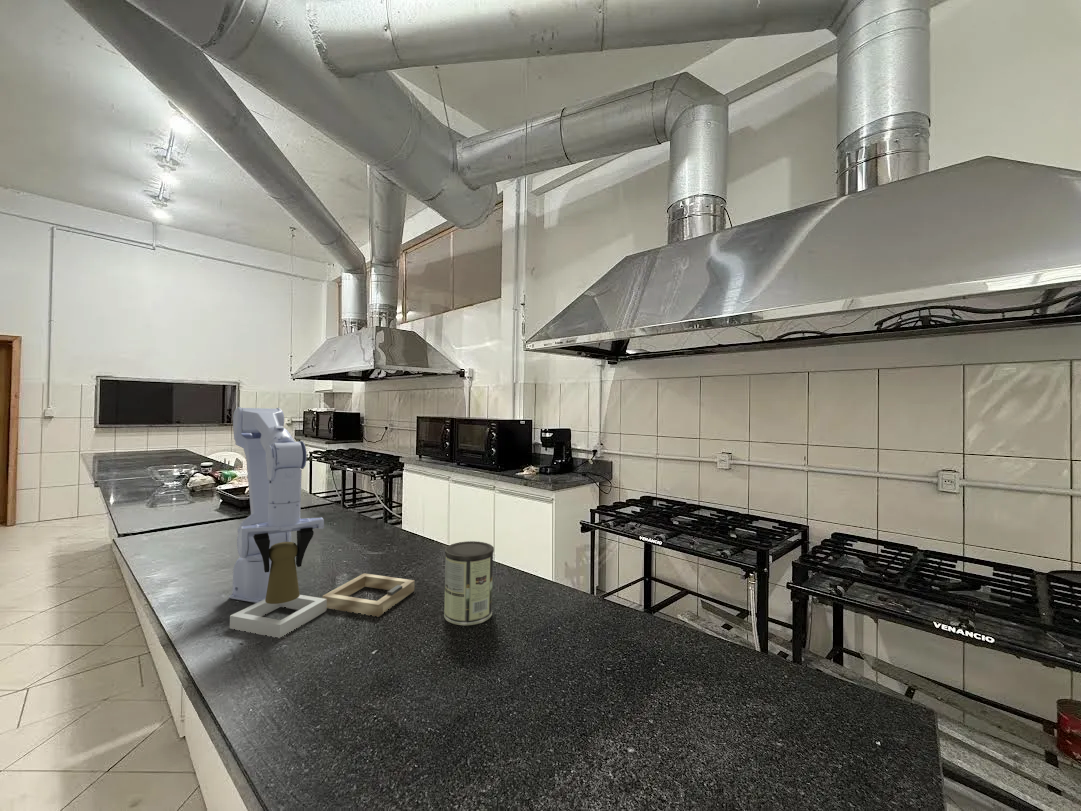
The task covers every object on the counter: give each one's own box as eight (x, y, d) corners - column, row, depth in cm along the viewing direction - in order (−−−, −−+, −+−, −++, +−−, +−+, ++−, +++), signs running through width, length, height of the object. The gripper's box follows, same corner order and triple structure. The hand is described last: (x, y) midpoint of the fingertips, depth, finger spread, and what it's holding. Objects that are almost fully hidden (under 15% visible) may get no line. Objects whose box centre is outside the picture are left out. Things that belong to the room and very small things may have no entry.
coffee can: (461, 600, 102) (463, 538, 102) (500, 609, 97) (502, 545, 98) (432, 618, 92) (434, 550, 93) (474, 630, 88) (476, 559, 88)
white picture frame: (229, 628, 86) (230, 615, 86) (280, 602, 98) (280, 591, 98) (279, 638, 83) (280, 624, 83) (326, 610, 95) (326, 598, 95)
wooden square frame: (322, 607, 96) (322, 593, 96) (363, 583, 110) (364, 570, 110) (378, 616, 93) (378, 602, 93) (414, 590, 106) (414, 577, 106)
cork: (285, 604, 87) (286, 547, 87) (257, 603, 88) (258, 546, 88) (306, 593, 93) (306, 539, 93) (280, 592, 94) (280, 539, 94)
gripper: (243, 508, 83) (241, 581, 83) (327, 500, 92) (325, 566, 92) (241, 502, 89) (239, 570, 89) (320, 495, 98) (318, 557, 97)
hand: (282, 568), depth 91 cm, fingers closed on cork, 5 cm apart
